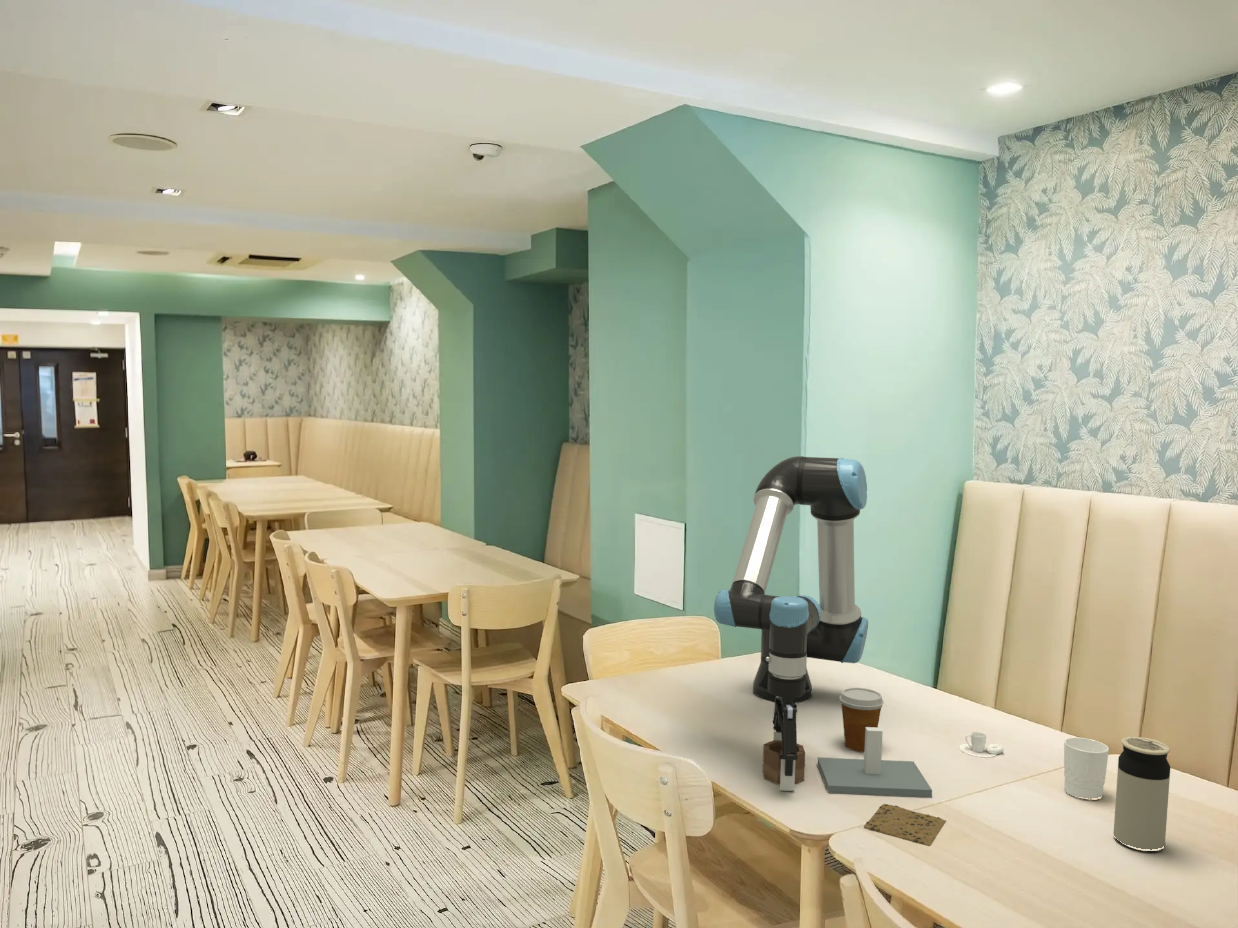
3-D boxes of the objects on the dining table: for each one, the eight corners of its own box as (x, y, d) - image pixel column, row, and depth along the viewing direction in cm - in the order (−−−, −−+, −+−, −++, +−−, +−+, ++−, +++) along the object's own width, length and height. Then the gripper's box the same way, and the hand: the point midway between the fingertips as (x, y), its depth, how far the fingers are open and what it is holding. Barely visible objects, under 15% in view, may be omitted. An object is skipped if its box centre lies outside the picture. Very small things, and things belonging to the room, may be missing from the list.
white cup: (1088, 805, 180) (1091, 755, 179) (1052, 789, 187) (1055, 740, 186) (1114, 797, 183) (1117, 748, 182) (1078, 782, 190) (1081, 734, 189)
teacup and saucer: (1006, 753, 206) (1007, 735, 206) (992, 763, 200) (993, 745, 200) (967, 742, 212) (968, 725, 212) (953, 751, 206) (953, 734, 206)
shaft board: (817, 764, 197) (819, 715, 196) (913, 768, 196) (915, 719, 195) (828, 792, 183) (830, 740, 182) (931, 797, 182) (934, 745, 181)
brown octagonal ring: (761, 767, 194) (762, 738, 194) (800, 769, 194) (801, 740, 193) (765, 783, 186) (766, 753, 186) (805, 785, 186) (806, 755, 185)
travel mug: (1143, 857, 160) (1150, 755, 158) (1103, 836, 167) (1109, 738, 165) (1175, 848, 163) (1182, 749, 161) (1133, 828, 170) (1140, 733, 169)
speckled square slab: (931, 849, 162) (931, 843, 162) (862, 829, 168) (862, 824, 168) (947, 822, 172) (948, 817, 172) (882, 805, 178) (882, 800, 178)
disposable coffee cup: (832, 749, 205) (834, 696, 204) (843, 735, 213) (845, 684, 212) (876, 758, 201) (878, 703, 200) (885, 743, 209) (888, 691, 208)
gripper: (762, 655, 201) (758, 751, 203) (775, 692, 176) (770, 801, 178) (797, 657, 200) (793, 752, 202) (815, 694, 176) (810, 803, 177)
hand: (783, 775), depth 190 cm, fingers open, 13 cm apart
